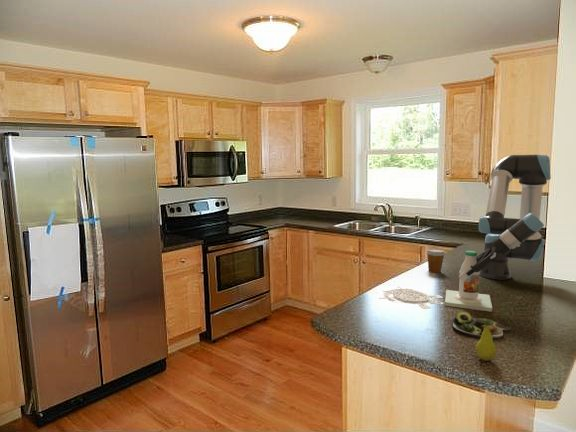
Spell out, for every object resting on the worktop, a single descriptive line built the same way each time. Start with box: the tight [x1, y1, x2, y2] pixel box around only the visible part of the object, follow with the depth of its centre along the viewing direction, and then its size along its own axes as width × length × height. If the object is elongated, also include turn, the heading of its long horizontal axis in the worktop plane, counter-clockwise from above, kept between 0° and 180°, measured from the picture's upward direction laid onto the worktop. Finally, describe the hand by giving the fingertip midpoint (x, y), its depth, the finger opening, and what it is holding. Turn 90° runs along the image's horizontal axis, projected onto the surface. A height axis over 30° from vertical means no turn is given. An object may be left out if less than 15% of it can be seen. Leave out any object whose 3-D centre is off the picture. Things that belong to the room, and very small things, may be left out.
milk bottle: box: [458, 250, 480, 299], centre depth 176 cm, size 8×8×20 cm
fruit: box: [475, 320, 497, 362], centre depth 125 cm, size 6×6×12 cm
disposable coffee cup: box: [426, 248, 446, 274], centre depth 225 cm, size 10×10×12 cm
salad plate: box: [451, 310, 512, 339], centre depth 148 cm, size 19×18×5 cm
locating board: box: [444, 289, 493, 313], centre depth 177 cm, size 18×18×2 cm
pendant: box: [379, 286, 444, 309], centre depth 183 cm, size 21×28×1 cm
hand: (460, 276), depth 177 cm, fingers closed on milk bottle, 7 cm apart
